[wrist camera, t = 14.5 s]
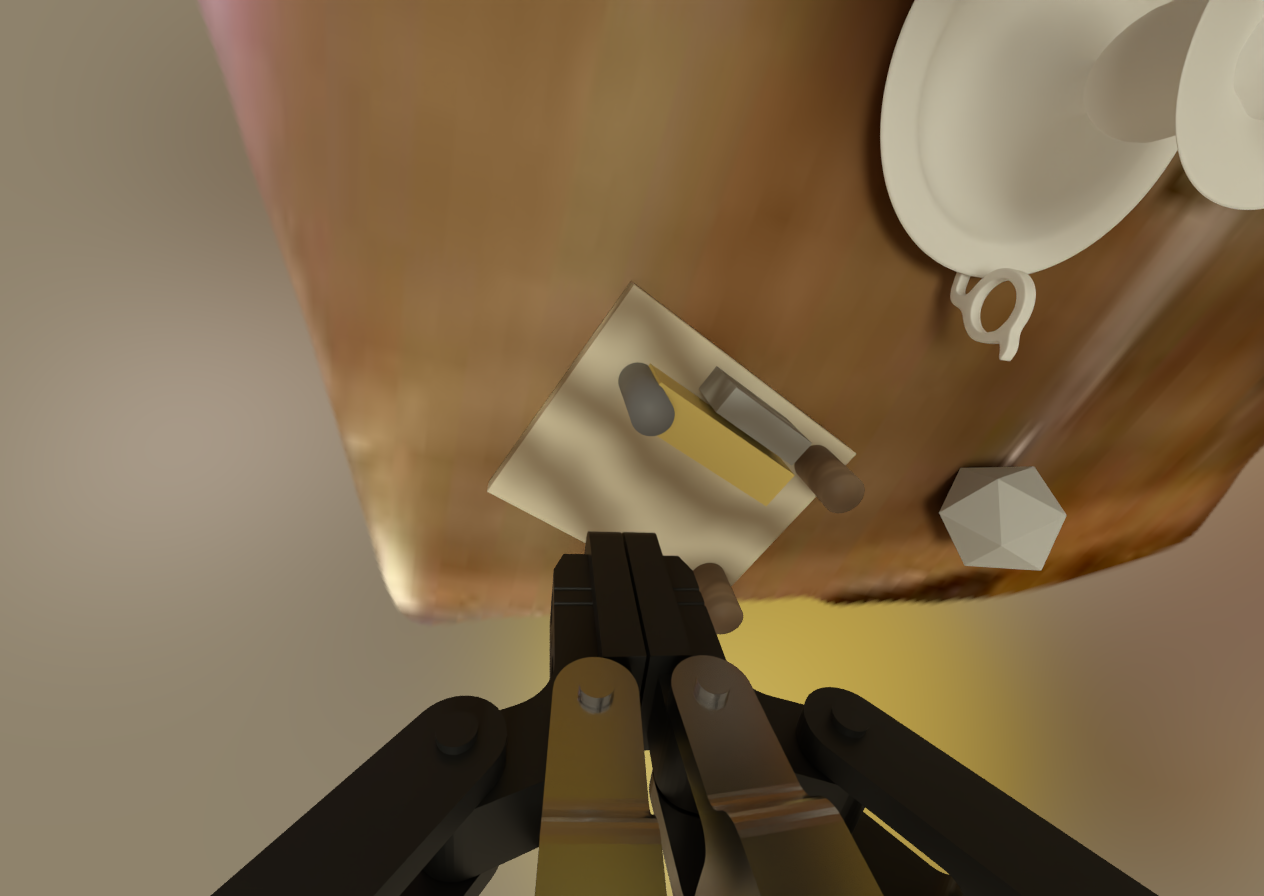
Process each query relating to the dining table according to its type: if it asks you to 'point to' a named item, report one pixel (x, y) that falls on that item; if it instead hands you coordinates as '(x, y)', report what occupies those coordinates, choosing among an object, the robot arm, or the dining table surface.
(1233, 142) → the candlestick
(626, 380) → the bar
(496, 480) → the seat board
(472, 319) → the dining table surface
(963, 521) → the die
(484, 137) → the dining table surface
